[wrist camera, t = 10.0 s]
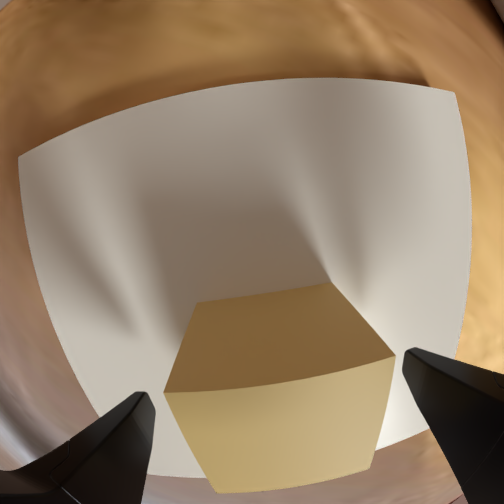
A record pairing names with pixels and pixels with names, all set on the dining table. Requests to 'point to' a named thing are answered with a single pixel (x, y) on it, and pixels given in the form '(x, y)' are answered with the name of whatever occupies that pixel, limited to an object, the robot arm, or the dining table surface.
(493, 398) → the robot arm
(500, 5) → the chamber pot
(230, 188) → the board
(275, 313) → the cube
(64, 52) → the dining table surface
